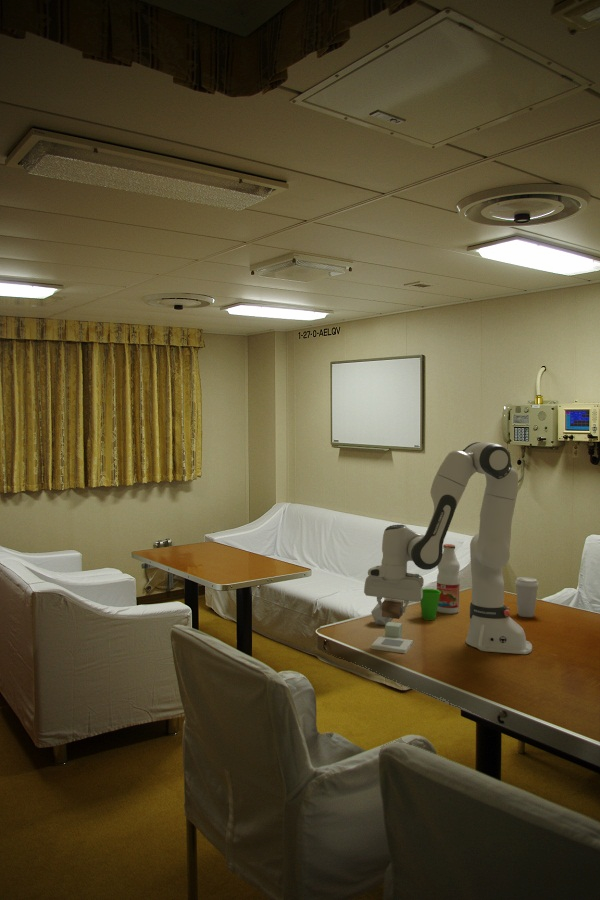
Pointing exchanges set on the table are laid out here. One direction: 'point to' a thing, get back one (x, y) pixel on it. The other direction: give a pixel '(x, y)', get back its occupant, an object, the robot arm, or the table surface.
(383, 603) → the walnut block
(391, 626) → the sage block
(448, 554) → the fruit juice
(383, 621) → the white block
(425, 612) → the cup
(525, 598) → the coffee cup
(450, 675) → the table surface
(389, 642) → the plate
